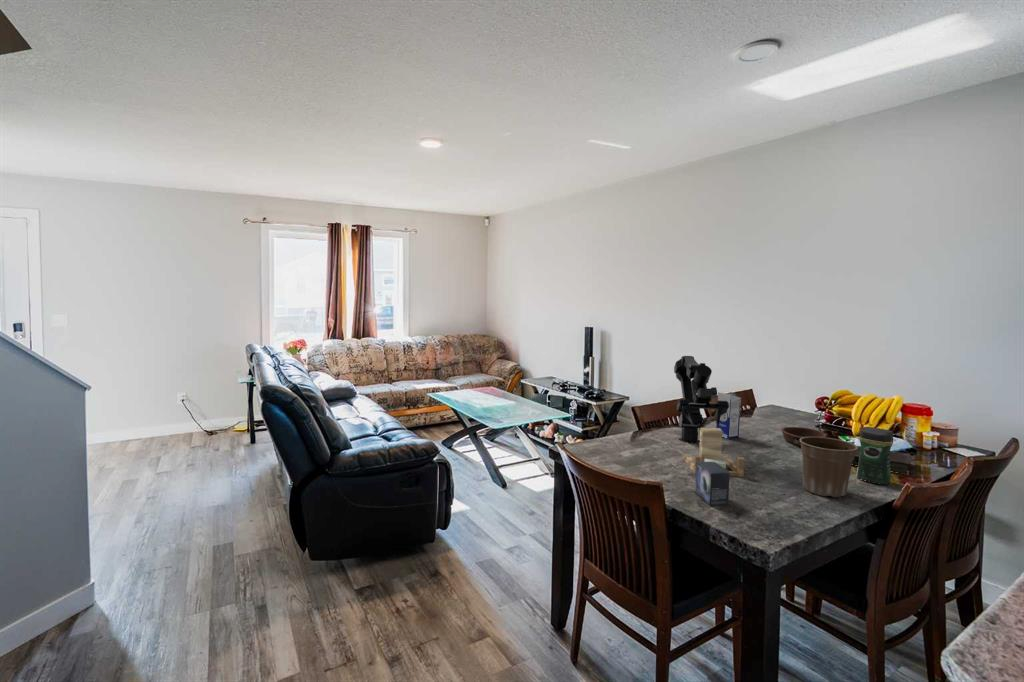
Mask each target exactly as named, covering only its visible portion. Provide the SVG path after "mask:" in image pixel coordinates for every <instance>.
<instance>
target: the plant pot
mask: <svg viewBox="0 0 1024 682" xmlns="http://www.w3.org/2000/svg"><path fill="white" fill-rule="evenodd" d="M800 442H801V446H800V449H801V450H800V452H801V453H802V480H803V481H802V482H803V483H802V484H803V485H802V486H803V488H804V490H806V491H807V492H809V493H811V494H813V493H814V495H816V494H817V495H818V496H822V497H828V496H829V497H832V498H842V497H841V496H843V497H845V496H846V495H847V491H848V488H849V487H848V486H849V481H850V476H851V471H852V467H853V466H852V461H853V460H854V456H855V451H856V450H857V449H858V447H857V446H858V445H856V444H854V443H851V442H849V441H846V440H841V439H838V438H832V437H803V438H800ZM817 495H816V496H817Z"/></svg>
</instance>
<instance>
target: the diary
mask: <svg viewBox="0 0 1024 682" xmlns="http://www.w3.org/2000/svg"><path fill="white" fill-rule="evenodd" d="M856 446H857V447H858V449H857V450H856V451H855V456H854V460H853V461H852V464H853V465H858V463H859V457H860V450H861V445H856ZM911 465H912V456H911V453H908V452H901V451H892V450H890V471H893V472H898V473H905V474H907V469H908V466H911Z"/></svg>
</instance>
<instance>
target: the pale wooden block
mask: <svg viewBox="0 0 1024 682" xmlns="http://www.w3.org/2000/svg"><path fill="white" fill-rule="evenodd" d="M699 429H700V431H699V440H700V442H699V449H698V450H699V451H698V456H700V457H701V462H704V459H712V460H721V461H722V449H723V448H722V447H723V438H722V433H723V431H722V430H721V429H720V428H715V427H701V428H699Z"/></svg>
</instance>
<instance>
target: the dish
mask: <svg viewBox="0 0 1024 682" xmlns="http://www.w3.org/2000/svg"><path fill="white" fill-rule="evenodd" d="M780 431H781V433H782V437H783V439H784V440H785V441H786V442H788V443H790V444H794V445H797V446H799V447H801V442H800V438H803V437H825V438H827V433H825V432H824V431H821V430H817V429H813V428H809V427H803V426H786V427H785V426H784V427H781V428H780Z"/></svg>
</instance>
